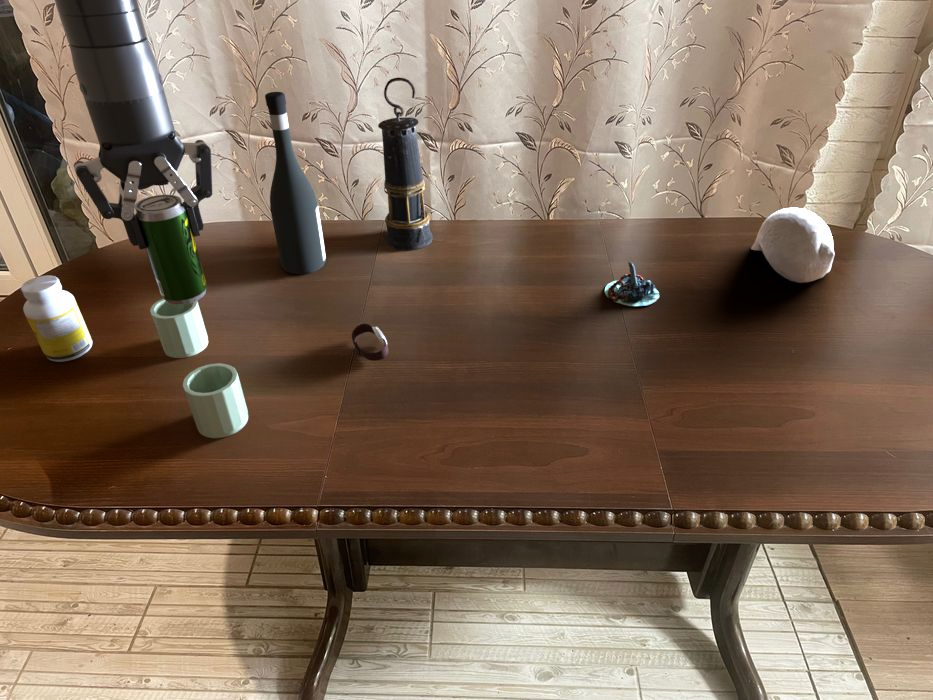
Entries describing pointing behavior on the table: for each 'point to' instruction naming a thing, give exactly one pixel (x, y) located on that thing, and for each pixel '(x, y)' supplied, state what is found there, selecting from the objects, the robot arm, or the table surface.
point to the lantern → (404, 181)
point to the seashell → (796, 244)
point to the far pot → (179, 328)
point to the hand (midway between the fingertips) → (168, 239)
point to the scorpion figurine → (632, 290)
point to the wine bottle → (293, 200)
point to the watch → (379, 335)
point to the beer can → (171, 248)
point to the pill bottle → (55, 319)
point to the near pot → (216, 400)
